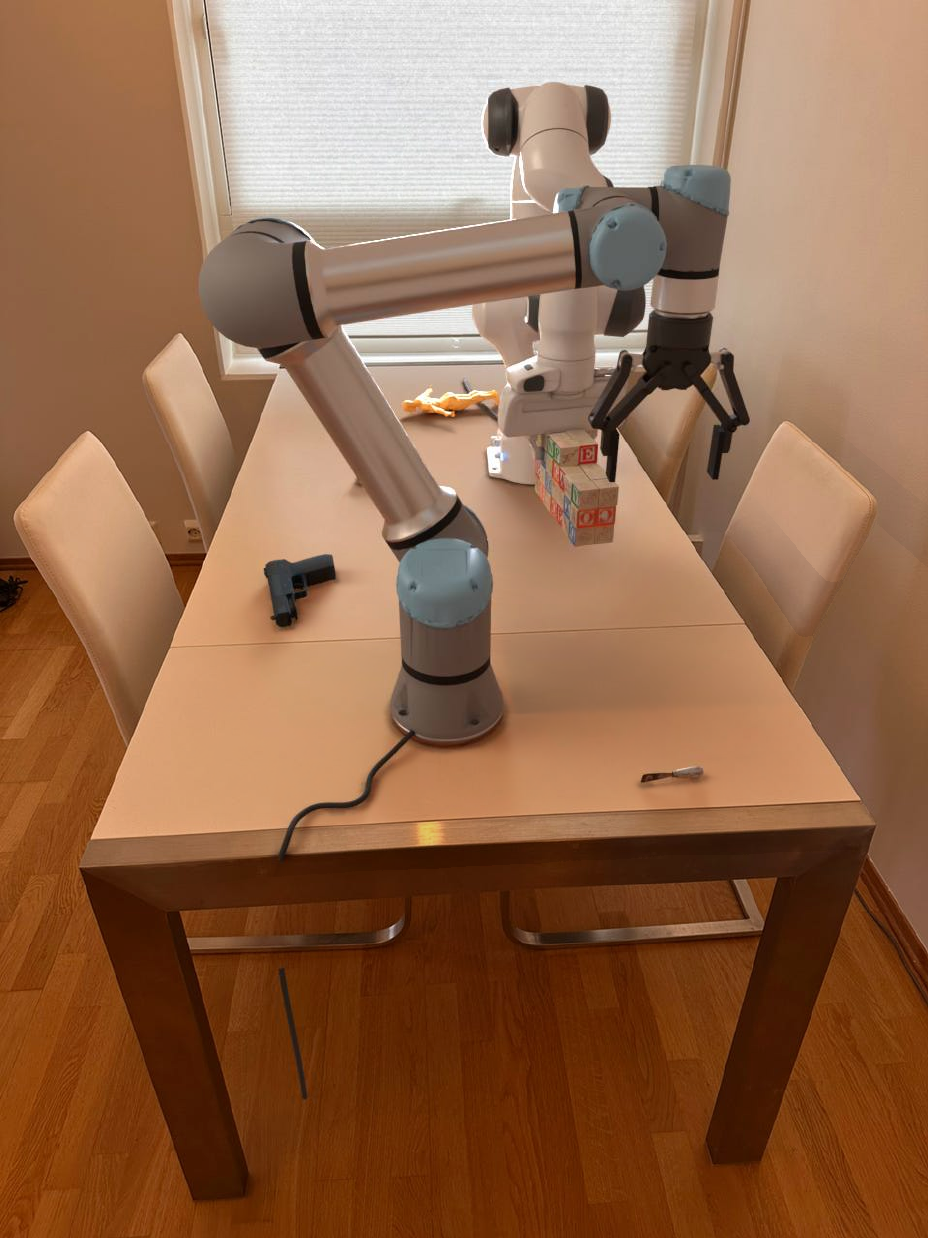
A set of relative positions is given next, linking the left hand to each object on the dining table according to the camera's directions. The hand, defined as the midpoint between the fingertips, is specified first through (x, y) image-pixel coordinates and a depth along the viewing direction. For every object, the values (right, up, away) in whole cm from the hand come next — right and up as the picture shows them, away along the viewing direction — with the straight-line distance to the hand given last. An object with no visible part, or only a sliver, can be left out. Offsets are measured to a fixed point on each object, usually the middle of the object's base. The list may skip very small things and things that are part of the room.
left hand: (661, 477), depth 118 cm
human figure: (-29, +34, +108) cm, 117 cm away
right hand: (-11, +7, +25) cm, 28 cm away
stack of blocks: (-9, -2, +24) cm, 26 cm away
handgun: (-52, -15, +30) cm, 62 cm away
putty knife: (-1, -39, -8) cm, 40 cm away
